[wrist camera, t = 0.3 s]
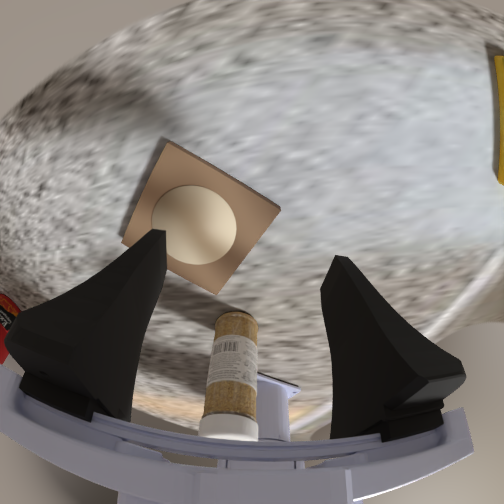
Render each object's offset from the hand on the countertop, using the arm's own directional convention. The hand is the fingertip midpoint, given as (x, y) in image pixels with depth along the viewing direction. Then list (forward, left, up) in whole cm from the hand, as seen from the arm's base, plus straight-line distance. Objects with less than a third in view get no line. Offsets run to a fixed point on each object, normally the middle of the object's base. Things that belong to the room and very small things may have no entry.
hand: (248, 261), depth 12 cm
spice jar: (-13, -7, -11) cm, 18 cm away
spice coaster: (-5, +2, -11) cm, 12 cm away
